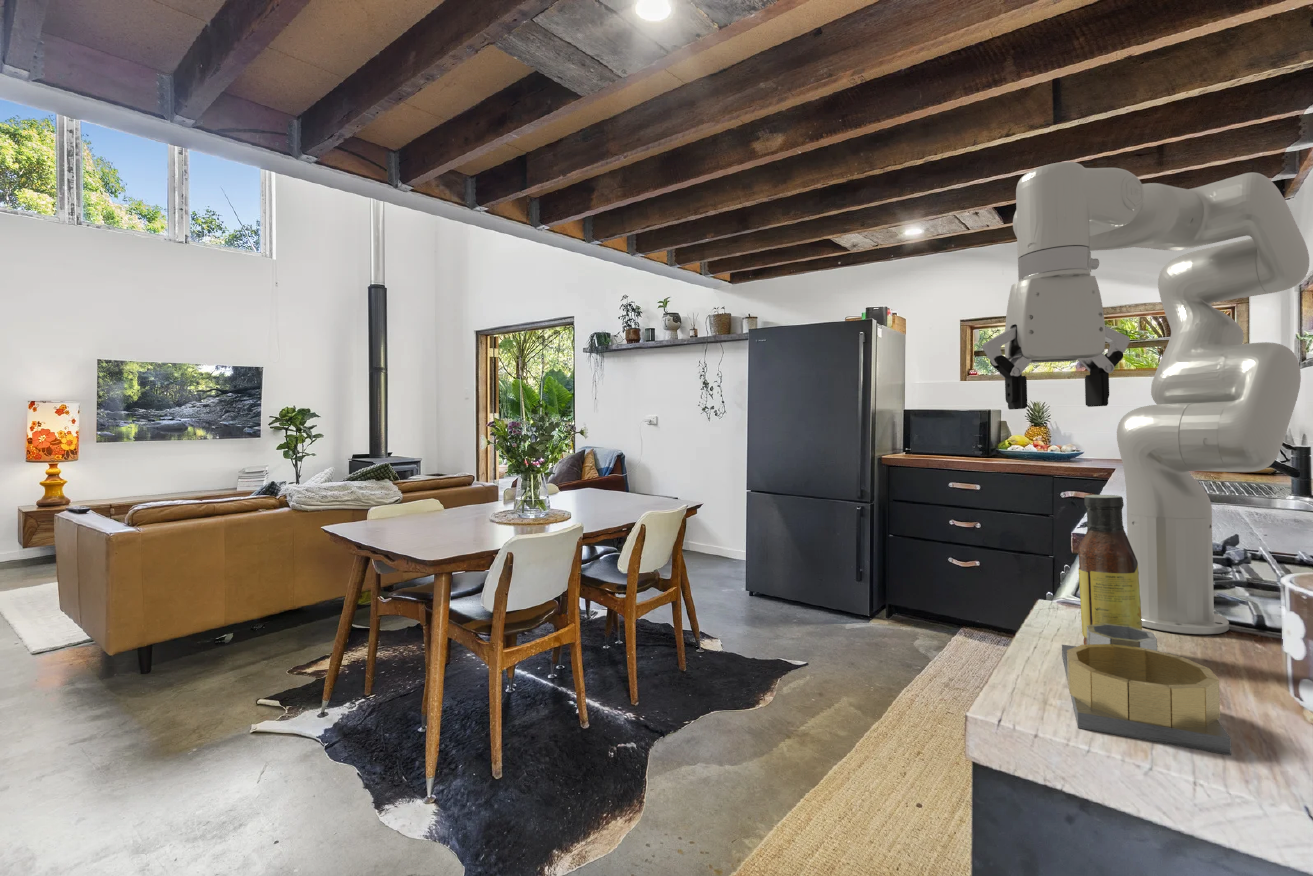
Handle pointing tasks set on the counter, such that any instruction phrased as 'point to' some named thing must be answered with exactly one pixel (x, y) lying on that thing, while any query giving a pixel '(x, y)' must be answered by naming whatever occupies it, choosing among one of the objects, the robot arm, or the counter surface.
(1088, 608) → the sauce bottle
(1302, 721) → the counter surface
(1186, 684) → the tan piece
